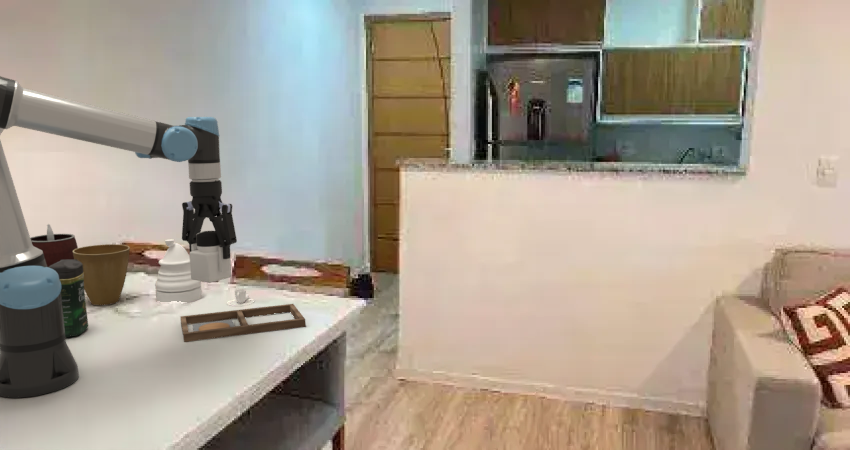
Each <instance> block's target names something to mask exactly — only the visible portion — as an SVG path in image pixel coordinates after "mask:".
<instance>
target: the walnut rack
mask: <svg viewBox="0 0 850 450" xmlns="http://www.w3.org/2000/svg"><path fill="white" fill-rule="evenodd" d="M282 312H288V313H290V312H291V313H290V315H293V316H294V317H293V316H292V317H293V318H292V319H286V320H279V321H278V320H276V321H269V322H262V323H261V322H260V323H250V324H248V321H247V320H246V318H251V317H252V316H254V317H260V316H259V315H263V316H268V315H267V314H271V315H275V314H274V313H280V314H283V313H282ZM179 317H180V327H181V332H182V337H183V342H184V343H189V342H197V341H204V340H211V339H212V340H213V339H218V338H219V339H220V338H228V337H235V336H236V337H237V336H244V335H251V334H258V333H265V332H266V333H267V332H273V331H282V330H283V331H285V330H290V329H291V330H292V329H298V328H306V318H305V317H304V315H303V314H302V313H301V312H300V310H299V309H298V308H297V307H296V306H295V304H294V303H287V304H281V305H280V304H278V305H270V306H269V305H268V306H262V307H261V306H260V307H259V306H258V307H252V308H242V309H235V310H234V309H233V310H227V311H225V310H224V311H217V312H207V313H199V314H191V315H189V314H188V315H181V316H179ZM245 317H246V318H245ZM225 320H237V321H238V323H239V325H237V326H234V327H226V328H218V329H210V330H202V331H194V330H193V331H189V328H188V327H189V326H188V325H192V324H200V323H208V322H217V321H225Z"/></svg>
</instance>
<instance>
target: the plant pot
mask: <svg viewBox="0 0 850 450" xmlns="http://www.w3.org/2000/svg"><path fill="white" fill-rule="evenodd" d="M130 250H131V249H130V246H129V245H125V244H117V243H115V244H114V243H112V244H111V243H109V244H107V243H106V244H94V245H86V246H82V247H78V248H77V249H74V250H73V256H74V259H77V260H78V261H80V262H81V263H82V264H83V272H84V292H85V295H86V296H87V298H88V300H89V302H90V304H91V305H93V306H109V305H114V304H116V302H117V303H119V301H120V299H121V296H122V292H123V290H124V286H125V282H126V278H127V272H128V266H129V258H130Z"/></svg>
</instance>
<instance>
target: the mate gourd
mask: <svg viewBox="0 0 850 450" xmlns="http://www.w3.org/2000/svg"><path fill="white" fill-rule="evenodd" d="M46 226H47V228H46V234H40V235H35V236H32V237H31V236H30V239H31V242H32V245H33V246H34V247H36V248H38V249H40V250H42V251H43V254H44V258H45V261H46V264H47V267H49V266H51V265H53V264H55V263H57V262H59V261H60V260H66V259H74V256H73V250H74V249H77V248H79V247H78V243H77V240H76V236H75V234H71V233H54V231H53V229H52V226H51V224H49V223H48V224H47V225H46Z"/></svg>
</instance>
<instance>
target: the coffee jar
mask: <svg viewBox="0 0 850 450" xmlns="http://www.w3.org/2000/svg"><path fill="white" fill-rule="evenodd" d="M49 268H51V269H53V270H55V271H56V272H57V273H58V275H59V280H60V282H61V299H62V309H63V319H64V329H65V339H67V338H70V337H77V336H79V335H81V334H83V333H85V331H86V330H87V329H88V327H89V320H88V314H87V313H88V312H87V305H86V292H85V290H84V272H83V264H82V263H81V262H80V261H78V260H77V259H66V260H60V261H59V262H57V263H55V264H53V265H51V266H49Z"/></svg>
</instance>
